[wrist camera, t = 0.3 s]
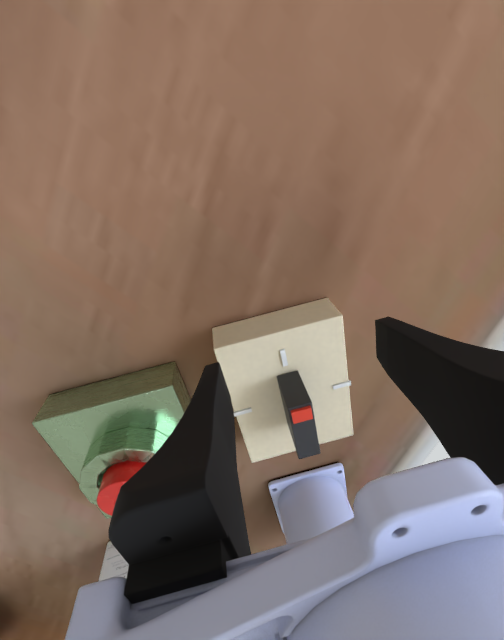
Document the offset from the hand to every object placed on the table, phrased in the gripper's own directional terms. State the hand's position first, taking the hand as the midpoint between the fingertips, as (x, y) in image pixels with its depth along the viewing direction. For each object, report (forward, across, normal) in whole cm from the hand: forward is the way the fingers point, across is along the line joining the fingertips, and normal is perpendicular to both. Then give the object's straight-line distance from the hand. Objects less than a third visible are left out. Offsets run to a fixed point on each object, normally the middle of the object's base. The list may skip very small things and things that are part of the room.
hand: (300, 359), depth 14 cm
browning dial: (+7, 0, +9) cm, 11 cm away
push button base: (+10, +13, +11) cm, 19 cm away
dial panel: (+10, 0, +9) cm, 13 cm away
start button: (+5, +13, +11) cm, 18 cm away
